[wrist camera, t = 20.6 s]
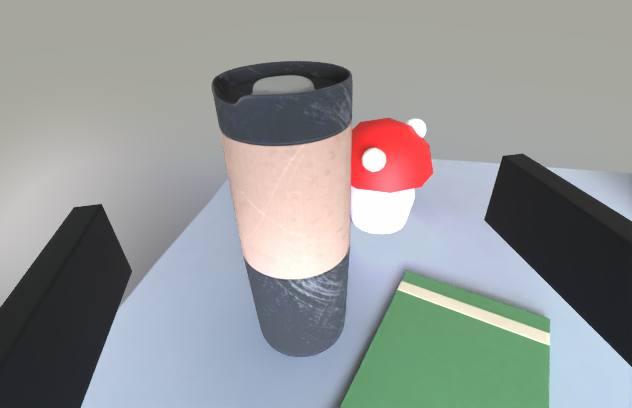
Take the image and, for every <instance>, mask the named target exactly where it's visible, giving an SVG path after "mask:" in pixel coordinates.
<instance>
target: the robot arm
mask: <svg viewBox="0 0 632 408" xmlns="http://www.w3.org/2000/svg"><path fill="white" fill-rule="evenodd" d="M484 220H485V221H486V222H487V223H488V224H489V225H490V226H491V227H492V228H493V229H494V230H495V231H496V232H497V233H498V234H499V235H500V236H501V237H502V238H503V239H504V240H505V241H506V242H507V243H508V244H509V245H510V246H511V247H512V248H513V249H514V250H515V251H516V252H517V253H518V254H519V255H520V256H521V257H522V258H523V259H524V260H525V261H526V262H527V263H528V264H529V265H530V266H531V267H532V268H533V269H534V270H535V271H536V272H537V273H538V274H539V275H540V276H541V277H542V278H543V279H544V280H545V281H546V282H547V283H548V284H549V285H550V286H551V287H552V288H553V289H554V290H555V291H556V292H557V293H558V294H559V295H560V296H561V297H562V298H563V299H564V300H565V301H566V302H567V303H568V304H569V305H570V306H571V307H572V308H573V309H574V310H575V311H576V312H577V313H578V314H579V315H580V316H581V317H582V318H583V319H584V320H585V321H586V322H587V323H588V324H589V325H590V326H591V327H592V328H593V329H594V330H595V331H596V332H597V333H598V334H599V335H600V336H601V337H602V338H603V339H604V340H605V341H606V342H607V343H608V344H609V345H610V346H611V347H612V348H613V349H614V350H615V351H616V352H617V353H618V354H619V355H620V356H621V357H622V358H623V359H624V360H625V361H626V362H627V363H628V364H629V365H630V366H631V367H632V221H630V220H629V219H627V218H625V217H624V216H622V215H621V214H619V213H617V212H616V211H614V210H613V209H611V208H609V207H608V206H606V205H605V204H603V203H601V202H600V201H598V200H596V199H595V198H593V197H592V196H590V195H588V194H587V193H585V192H584V191H582V190H580V189H579V188H577V187H576V186H574V185H572V184H571V183H569V182H568V181H566V180H564V179H563V178H561V177H560V176H558V175H556V174H555V173H553V172H551V171H550V170H548V169H547V168H545V167H543V166H542V165H540V164H539V163H537V162H535V161H534V160H532V159H531V158H529V157H527V156H526V155H524V154H516V155H508V156H503V157H502V161H501V164H500V168H499V171H498V175H497V178H496V182H495V185H494V188H493V192H492V195H491V199H490V202H489V206H488V209H487V213H486V216H485V219H484ZM131 273H132V270H131V268H130V265H129V263H128V261H127V259H126V257H125V254H124V253H123V250H122V248H121V246H120V243H119V241H118V239H117V237H116V235H115V233H114V230H113V228H112V226H111V224H110V222H109V220H108V217H107V215H106V213H105V211H104V208H103V206H102V204H99V205H90V206H83V207H74V208H73V210H72V211H71V212H70V214H69V215H68V216H67V218H66V219H65V220H64V222H63V223H62V225H61V226H60V227H59V229H58V230H57V231H56V233H55V234H54V235H53V237H52V238H51V239H50V241H49V242H48V244H47V245H46V246H45V248H44V249H43V250H42V252H41V253H40V254H39V256H38V257H37V258H36V260H35V261H34V262H33V264H32V265H31V267H30V268H29V269H28V271H27V272H26V273H25V275H24V276H23V277H22V279H21V280H20V282H19V283H18V284H17V286H16V287H15V288H14V290H13V291H12V292H11V294H10V295H9V297H8V298H7V299H6V301H5V302H4V303H3V305H2V306H1V307H0V408H81V405H82V403H83V400H84V397H85V395H86V392H87V389H88V387H89V384H90V381H91V379H92V376H93V373H94V371H95V368H96V365H97V363H98V360H99V357H100V355H101V352H102V350H103V347H104V344H105V342H106V339H107V336H108V334H109V331H110V328H111V326H112V323H113V320H114V318H115V315H116V312H117V310H118V307H119V304H120V302H121V299H122V296H123V294H124V291H125V288H126V286H127V283H128V281H129V278H130V275H131Z"/></svg>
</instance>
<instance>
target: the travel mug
mask: <svg viewBox="0 0 632 408" xmlns="http://www.w3.org/2000/svg"><path fill="white" fill-rule="evenodd" d="M212 92H213V95H214V101H215V106H216V111H217V117H218V122H219V127H220V132H221V138H222V144H223V149H224V155H225V160H226V166H227V171H228V176H229V182H230V187H231V193H232V198H233V203H234V209H235V214H236V220H237V225H238V231H239V236H240V241H241V247H242V252H243V256H244V260H245V264H246V269H247V273H248V277H249V281H250V285H251V289H252V294H253V298H254V302H255V306H256V310H257V314H258V318H259V322H260V326H261V330H262V333H263V335H264V337H265V339H266V340H267V342H268V343H269V344H270V345H271V346H272V347H273V348H274V349H276V350H277V351H279V352H281V353H283V354H286V355H289V356H295V357H305V356H311V355H315V354H318V353H320V352H323V351H324V350H326V349H328V348H329V347H330V346H331V345H333V344H334V343H335V341H336V340H337V339H338V338H339V336H340V334H341V332H342V329H343V326H344V320H345V310H346V295H347V280H348V266H349V251H350V211H351V144H352V75H351V72H350V71H349V70H347V69H346V68H344V67H341V66H338V65H334V64H329V63H321V62H307V61H285V62H270V63H261V64H254V65H249V66H244V67H239V68H235V69H232V70H229V71H226V72H224V73H221V74H220V75H218V76H217V77H215V78H214V80H213V81H212Z"/></svg>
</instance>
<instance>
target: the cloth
mask: <svg viewBox="0 0 632 408" xmlns="http://www.w3.org/2000/svg"><path fill="white" fill-rule="evenodd" d="M549 360H550V319H549V318H546V317H543V316H540V315H537V314H534V313H531V312H528V311H525V310H522V309H519V308H516V307H513V306H510V305H507V304H505V303H502V302H499V301H496V300H493V299H490V298H487V297H484V296H481V295H478V294H475V293H472V292H469V291H466V290H463V289H460V288H457V287H454V286H452V285H449V284H446V283H443V282H440V281H437V280H434V279H431V278H428V277H425V276H422V275H419V274H416V273H413V272H410V271H406V273H405V275H404V277H403V279H402V281H401V283H400V285H399V287H398V289H397V291H396V293H395V295H394V298H393V300H392V302H391V304H390V306H389V308H388V310H387V312H386V314H385V316H384V318H383V320H382V322H381V324H380V326H379V328H378V330H377V332H376V334H375V336H374V338H373V340H372V343H371V345H370V347H369V349H368V351H367V353H366V355H365V357H364V359H363V361H362V363H361V365H360V367H359V369H358V371H357V373H356V375H355V377H354V379H353V381H352V383H351V385H350V387H349V390H348V392H347V394H346V396H345V398H344V400H343V402H342V404H341V406H340V408H549Z"/></svg>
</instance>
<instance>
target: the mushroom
mask: <svg viewBox="0 0 632 408" xmlns="http://www.w3.org/2000/svg"><path fill="white" fill-rule="evenodd" d="M425 133H426V125H425V123H424V122H423V121H422V120H420V119H417V118H415V119H410V120H409V121H408V122H406V123H402V122H399V121H396V120H393V119H391V118H384V119H378V120H372V121H365V122H360V123H359V124H358V125H357V126H356V127H355V128H354V129H353V130H352V144H351V211H350V218H351V220H352V222H353V224H354V225H356V226H357V227H358V228H359V229H361V230H364V231H366V232H369V233H376V234H387V233H393V232H395V231H397V230H399V229H401V228H402V227H403V226H404V224H405V223H406V220H407V218H408V215H409V212H410V209H411V206H412V204H413V201H414V198H415V193H414V188H418V187H421V186H422V185H423V184H424V183H425V182H426V181H427V180H428V179H429V177H430V176H431V175H432V174H433V168H432V161H431V154H430V147H429V145H428V143H427V142H426V141H425V140H424V139H423V137H424V135H425Z"/></svg>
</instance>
